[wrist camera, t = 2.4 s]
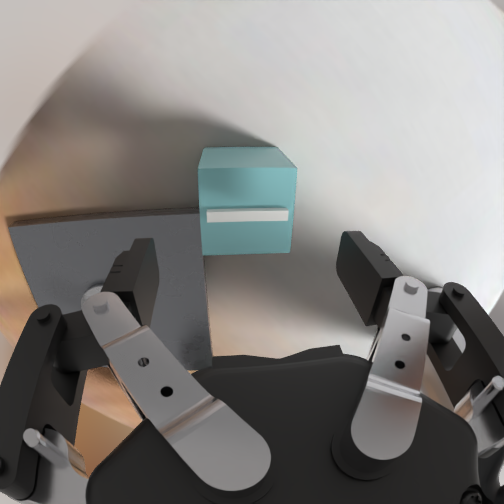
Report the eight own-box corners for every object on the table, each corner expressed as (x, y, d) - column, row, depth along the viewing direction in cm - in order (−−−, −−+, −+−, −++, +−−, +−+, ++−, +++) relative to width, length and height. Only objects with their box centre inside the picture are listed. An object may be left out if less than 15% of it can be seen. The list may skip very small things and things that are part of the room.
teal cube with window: (277, 146, 20) (299, 170, 15) (273, 213, 23) (291, 256, 18) (203, 147, 20) (197, 170, 14) (206, 214, 23) (202, 259, 17)
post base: (200, 207, 22) (194, 249, 17) (213, 361, 31) (214, 409, 26) (14, 221, 21) (-23, 257, 15) (70, 355, 30) (56, 396, 24)
